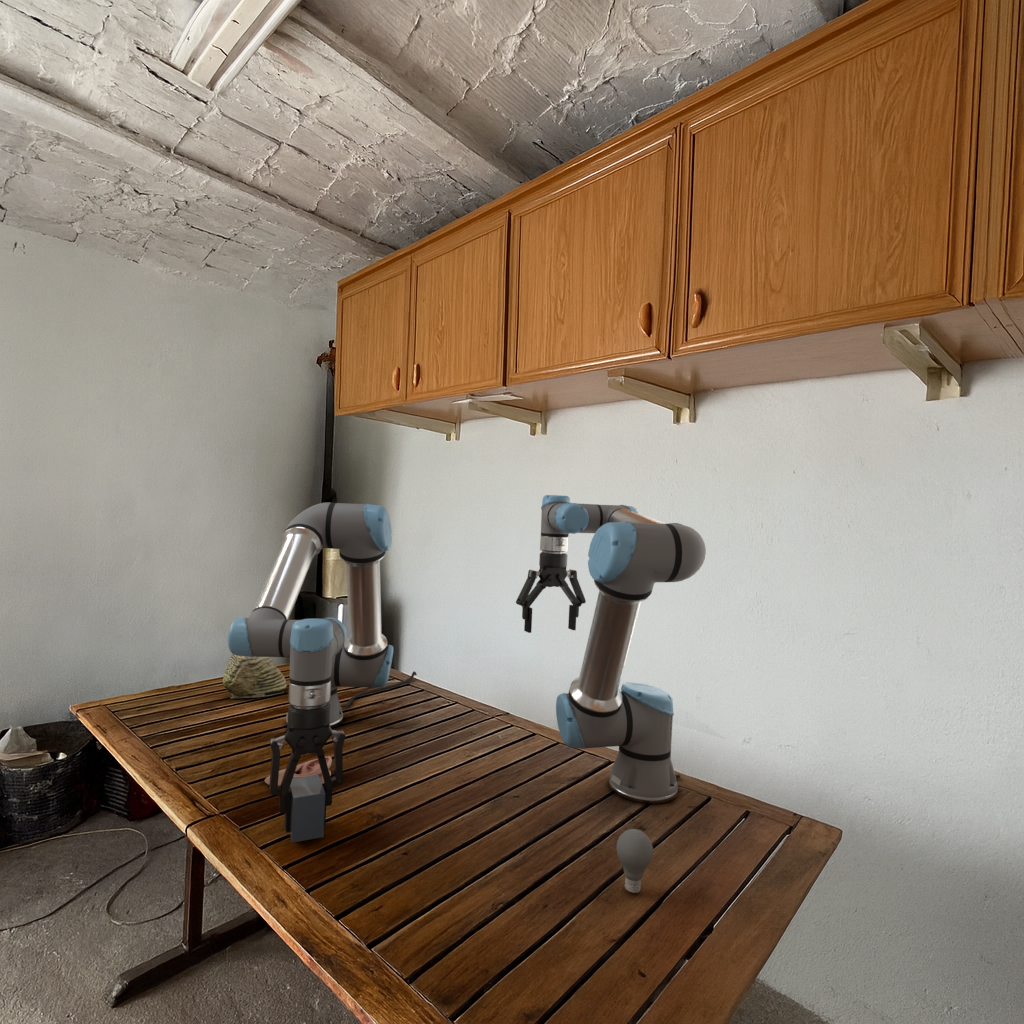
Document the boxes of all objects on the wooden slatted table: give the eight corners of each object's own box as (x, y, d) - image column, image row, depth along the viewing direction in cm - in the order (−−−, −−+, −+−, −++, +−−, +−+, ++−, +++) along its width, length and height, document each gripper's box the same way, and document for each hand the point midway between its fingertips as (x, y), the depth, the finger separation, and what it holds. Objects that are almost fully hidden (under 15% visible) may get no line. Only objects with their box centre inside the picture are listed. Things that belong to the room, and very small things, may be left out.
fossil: (218, 695, 195) (220, 647, 195) (278, 685, 208) (279, 640, 207) (228, 703, 189) (230, 653, 188) (289, 692, 201) (290, 645, 201)
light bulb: (610, 879, 108) (613, 822, 108) (644, 879, 109) (647, 822, 109) (619, 902, 102) (622, 840, 102) (655, 901, 103) (658, 840, 103)
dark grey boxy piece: (286, 821, 121) (288, 778, 121) (317, 816, 124) (318, 774, 124) (291, 842, 114) (293, 798, 114) (323, 837, 116) (325, 793, 116)
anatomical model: (256, 768, 137) (286, 748, 148) (256, 786, 137) (285, 765, 148) (313, 776, 134) (338, 755, 145) (312, 794, 134) (338, 772, 145)
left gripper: (257, 715, 111) (252, 845, 112) (363, 704, 119) (358, 826, 120) (254, 701, 118) (250, 824, 118) (355, 692, 126) (351, 808, 126)
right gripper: (518, 553, 162) (514, 635, 162) (600, 553, 173) (596, 631, 173) (505, 550, 169) (502, 629, 169) (585, 551, 180) (582, 625, 180)
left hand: (304, 825), depth 119 cm, fingers closed on dark grey boxy piece, 6 cm apart
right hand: (550, 630), depth 171 cm, fingers open, 13 cm apart
